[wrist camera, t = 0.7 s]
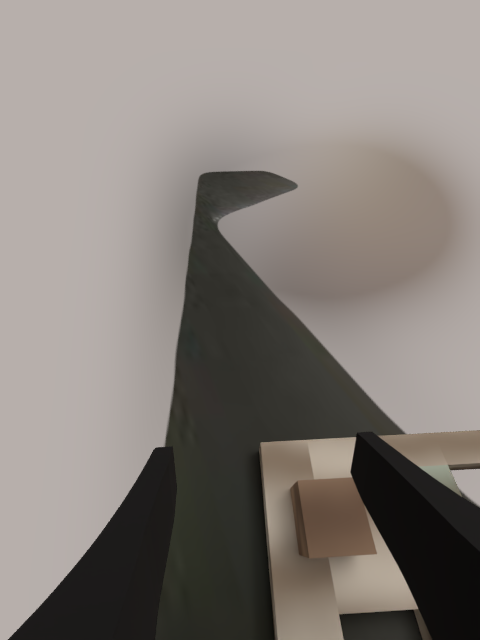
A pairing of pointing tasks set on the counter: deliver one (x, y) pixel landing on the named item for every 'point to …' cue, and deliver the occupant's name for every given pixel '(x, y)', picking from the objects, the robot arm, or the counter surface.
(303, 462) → the trap deck
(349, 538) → the walnut block
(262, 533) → the counter surface
